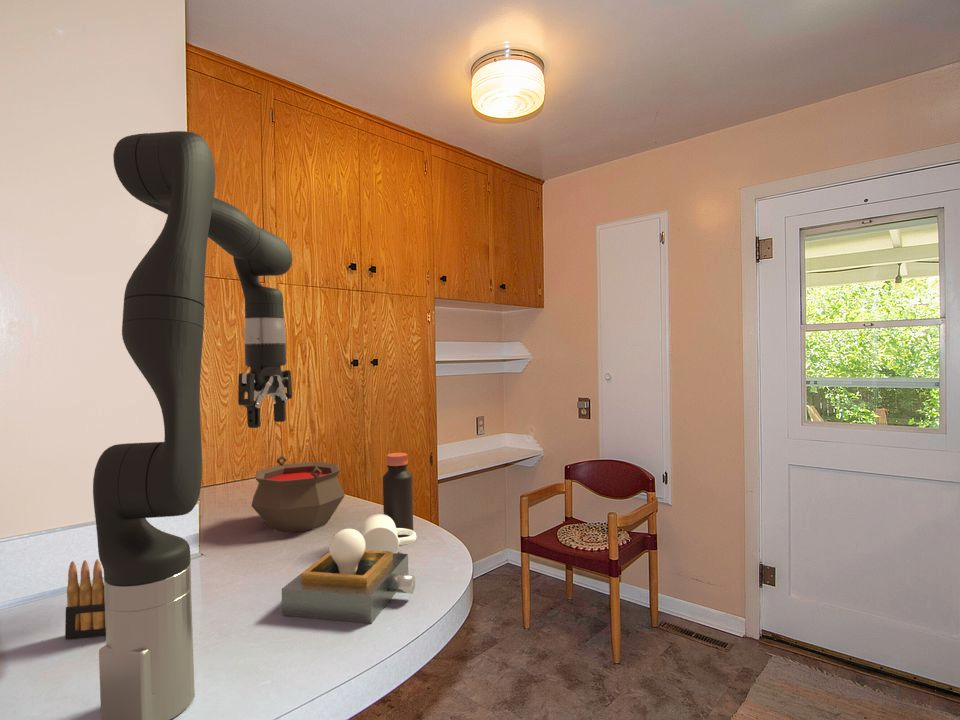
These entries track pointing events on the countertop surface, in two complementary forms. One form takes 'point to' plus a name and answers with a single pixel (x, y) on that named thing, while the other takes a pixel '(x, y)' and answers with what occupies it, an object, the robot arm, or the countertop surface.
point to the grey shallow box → (348, 588)
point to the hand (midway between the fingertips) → (267, 424)
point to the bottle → (398, 491)
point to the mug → (384, 534)
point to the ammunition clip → (85, 603)
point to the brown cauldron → (297, 495)
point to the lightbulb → (347, 550)
